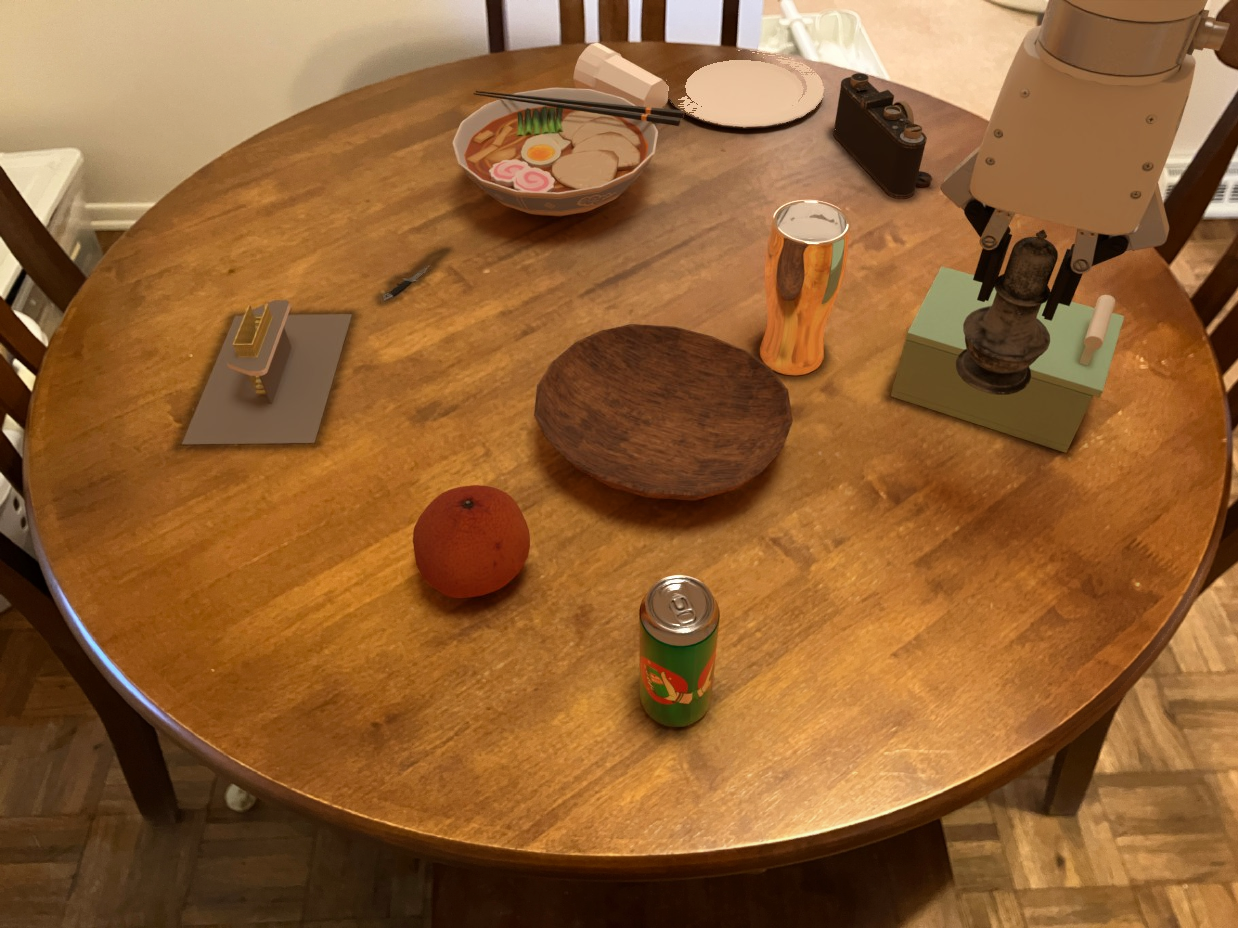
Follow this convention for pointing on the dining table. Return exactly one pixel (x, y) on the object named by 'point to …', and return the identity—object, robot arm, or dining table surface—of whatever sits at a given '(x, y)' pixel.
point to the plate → (751, 93)
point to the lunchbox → (989, 399)
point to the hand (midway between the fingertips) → (1019, 297)
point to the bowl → (663, 411)
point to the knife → (403, 285)
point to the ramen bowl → (558, 148)
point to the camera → (881, 136)
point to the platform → (270, 378)
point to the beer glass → (802, 282)
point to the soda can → (677, 650)
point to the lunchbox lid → (1074, 330)
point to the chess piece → (1010, 322)
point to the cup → (618, 77)
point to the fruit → (471, 541)
